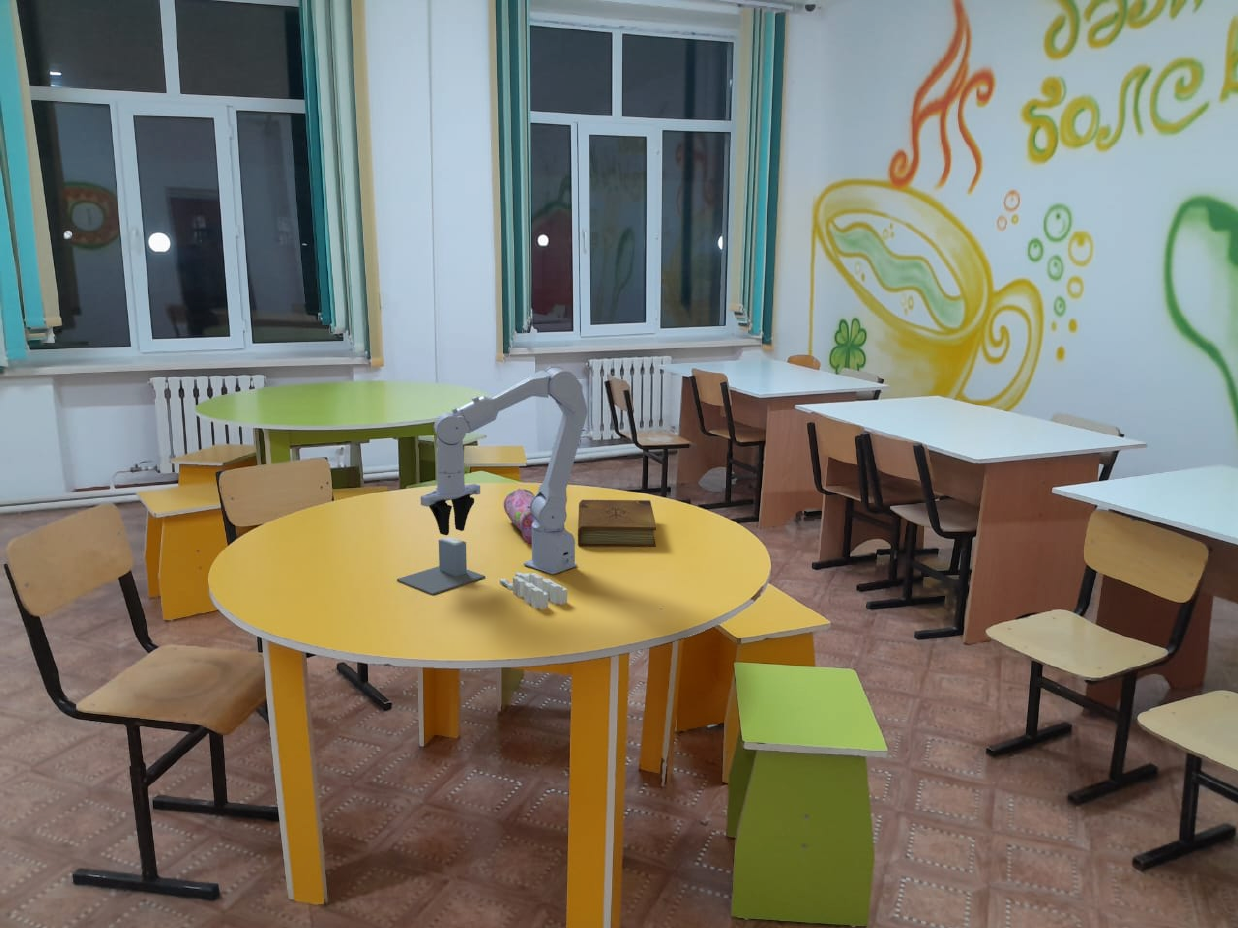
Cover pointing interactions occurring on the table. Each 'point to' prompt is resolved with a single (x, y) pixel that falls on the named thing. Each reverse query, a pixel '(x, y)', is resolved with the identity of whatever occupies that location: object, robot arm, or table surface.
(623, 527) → the diary
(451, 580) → the mat
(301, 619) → the table surface
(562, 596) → the modular blocks
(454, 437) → the robot arm
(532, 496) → the pencil case
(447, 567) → the block
